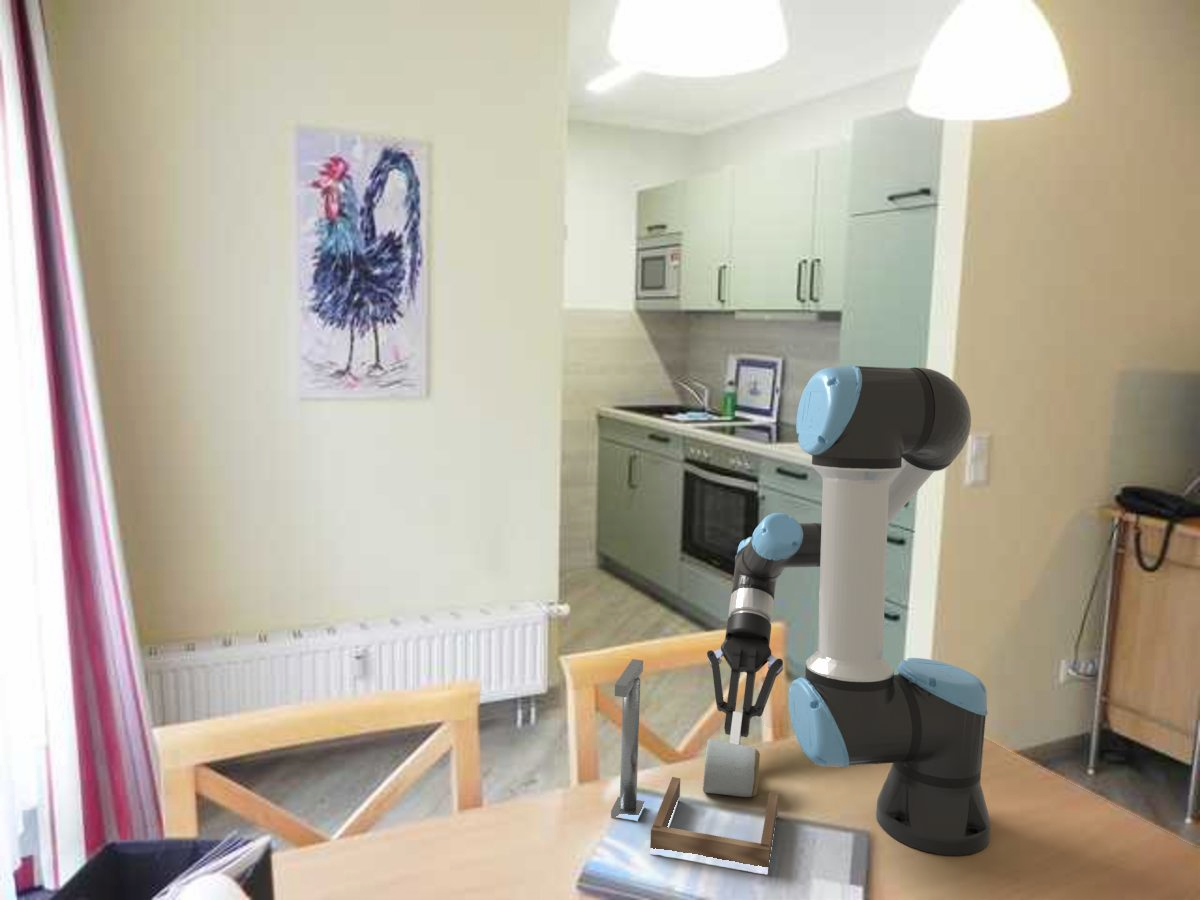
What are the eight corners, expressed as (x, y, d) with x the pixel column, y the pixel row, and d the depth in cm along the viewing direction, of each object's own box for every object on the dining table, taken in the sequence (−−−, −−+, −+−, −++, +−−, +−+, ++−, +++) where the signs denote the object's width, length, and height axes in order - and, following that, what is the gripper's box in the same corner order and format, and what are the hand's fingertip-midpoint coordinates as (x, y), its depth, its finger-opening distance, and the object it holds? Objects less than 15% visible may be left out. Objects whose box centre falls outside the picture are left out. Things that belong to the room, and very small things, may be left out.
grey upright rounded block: (758, 807, 129) (760, 757, 128) (701, 801, 130) (703, 751, 129) (757, 774, 139) (759, 727, 138) (705, 768, 140) (707, 722, 140)
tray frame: (776, 816, 126) (778, 793, 126) (767, 875, 112) (769, 850, 112) (671, 799, 130) (672, 776, 130) (650, 854, 116) (650, 829, 116)
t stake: (646, 802, 129) (651, 661, 127) (630, 839, 120) (635, 687, 117) (620, 798, 130) (624, 658, 128) (602, 834, 121) (606, 683, 118)
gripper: (788, 634, 153) (776, 769, 140) (713, 626, 157) (694, 757, 143) (787, 614, 148) (775, 752, 134) (710, 606, 151) (690, 740, 137)
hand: (733, 754), depth 138 cm, fingers closed
